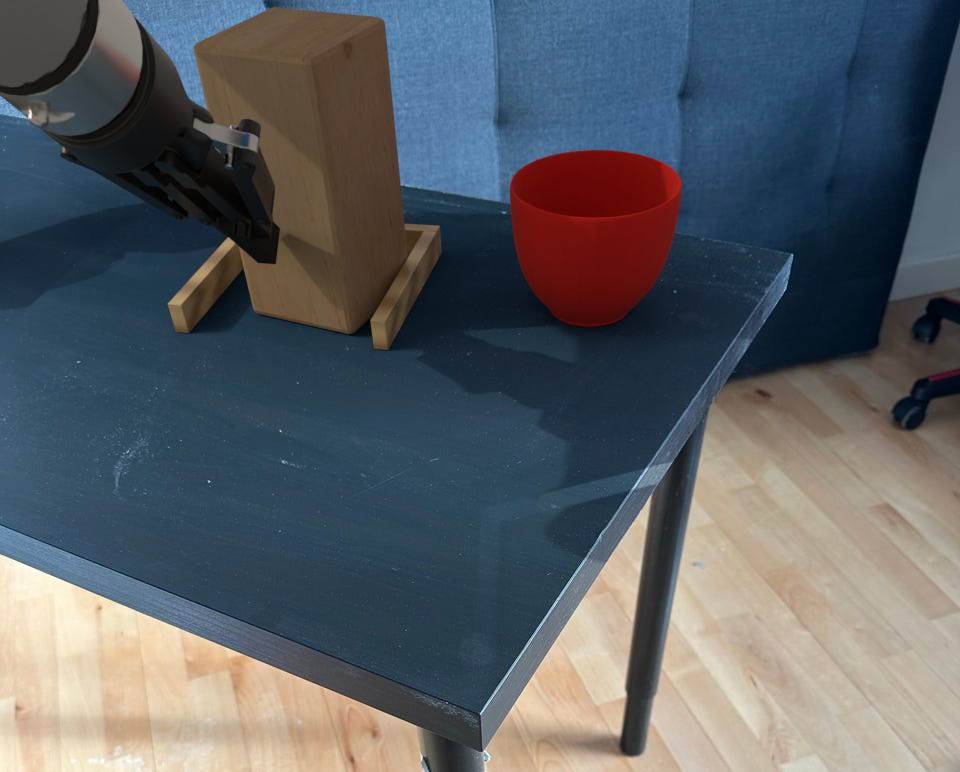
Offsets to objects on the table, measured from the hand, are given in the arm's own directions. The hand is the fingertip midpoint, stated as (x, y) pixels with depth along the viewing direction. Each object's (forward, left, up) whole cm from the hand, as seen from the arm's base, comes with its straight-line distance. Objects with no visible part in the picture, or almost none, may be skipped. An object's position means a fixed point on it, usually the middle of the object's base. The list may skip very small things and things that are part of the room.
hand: (268, 245), depth 71 cm
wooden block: (0, +6, -7) cm, 10 cm away
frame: (-2, +6, -7) cm, 10 cm away
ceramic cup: (+20, +15, -7) cm, 26 cm away
